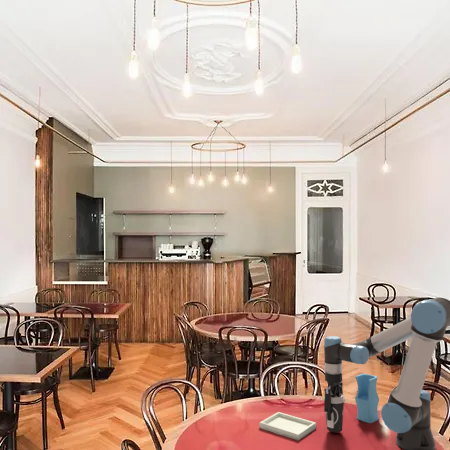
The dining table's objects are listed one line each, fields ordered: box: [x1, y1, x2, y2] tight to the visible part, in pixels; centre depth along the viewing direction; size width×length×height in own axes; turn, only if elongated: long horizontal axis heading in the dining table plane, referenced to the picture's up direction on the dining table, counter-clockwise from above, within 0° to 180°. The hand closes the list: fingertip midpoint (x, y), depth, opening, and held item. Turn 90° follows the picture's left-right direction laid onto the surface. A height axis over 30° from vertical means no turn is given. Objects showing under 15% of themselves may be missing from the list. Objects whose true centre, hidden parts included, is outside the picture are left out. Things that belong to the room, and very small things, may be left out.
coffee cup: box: [322, 393, 346, 433], centre depth 199 cm, size 10×10×15 cm
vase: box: [354, 373, 380, 424], centre depth 215 cm, size 8×8×20 cm
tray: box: [259, 411, 317, 441], centre depth 204 cm, size 20×16×2 cm
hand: (334, 424), depth 199 cm, fingers closed on coffee cup, 7 cm apart
